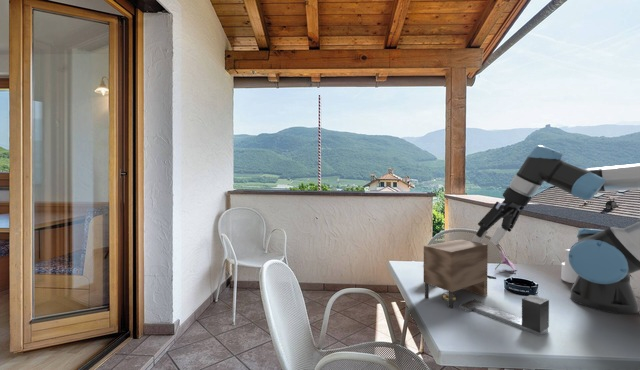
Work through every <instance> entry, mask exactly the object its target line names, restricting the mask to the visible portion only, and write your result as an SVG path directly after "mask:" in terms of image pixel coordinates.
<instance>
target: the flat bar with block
mask: <svg viewBox="0 0 640 370" xmlns="http://www.w3.org/2000/svg"><path fill="white" fill-rule="evenodd" d="M460 308H461V310H463V309H464V310H463V311H465V310H466V312H468V313H470V311H471V312H472V310H474V311H473V312H477V313H479V314H481V315H484V316H487V317H489V318H492V319H495V320H497V321H499V322H503V323H505V324H508V325H511V326H513V327H515V328H518V329H521V330H523V331H526V332H529V333H532V334H534V335H537V336H539V337H542V336H544V335H545V334H546V333H548V332H549V327H550V325H549V324H550V319H549V317H550V316H549V315H550V299H547V298H543V297H541V296H537V295H533V294H529V295H527V296H525V297H523V298H521V317H518V316H515V315H514V314H513V315H512V314H510V313H507V312H504V311H501V310H500V309H496V308H493V307H490V306H487V305H485V302H483V301H482V300H481V301H480V300H477V299H475V298H474V299H471V300H469V301H466V302H464V303H461V304H459V309H460Z"/></svg>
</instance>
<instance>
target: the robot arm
mask: <svg viewBox="0 0 640 370" xmlns="http://www.w3.org/2000/svg"><path fill="white" fill-rule="evenodd" d="M563 155H564V154H563V153H562V152H560V151H558V150H556V149H553V148H550V147H548V146H546V145H542V144H539V145H536V146H535V147H534V148H533V149H532V151H531V152H530V153H529V155H527V156H526V158H525V160H524V162H523V164H522V165H521V166H520V168H519V170H518V171H517V172H516V174H515V175H513V177H512V180H511V181H510V183H509V186H506V188H505V189H504V191H503V193H502V196H503V198H504V200H503V201H502V202H500V201H496V202H495V203H494V205H493V206H492V207H491V209H490V210H489V211H488V212H487V213H486V214H485V215H484V217H482V218H481V219H480V221H478V223H477V225H478V226H479V228H478V230H477V232H475V235H474V236H473V237H472V238H471V240H470V241H471V242H477V243H482V241H483V240H484V239H485V237H486V236H487V234H488V233H489V230H490V229H491V228H492V226H494V225H495V224H496V223H497V222H499V221H500V220H501V219H502V222H501V225H500V226H498V227H497V229H496V230H495V232H494V233H493V235H492V236H491V237H490V239H489V241H490V242H491V243H493V245H495V246H498V244H499V243H500V242H501V240H502V239H503V237H504V236H505V234H506V233H507V232H508V233H509V232H512V230H513V228H514V227H515V225H516V223H517V221H518V219H519V217H520V215H521V213H522V212H523V210H524V209H525V207H527V205H528V204H529V203H530V201H531V200H532V196H535V195H536V194H537V192H538V191H539V189H540V188H541V186H542V185H543V183H547V184H550V185H551V186H554V187H556V188H558V189H559V190H562V191H564V192H566V193H568V194H570V195H572V196H573V197H575V198H579V199H582V200H583V201H590V200H592V198H593V197H594V196H596V194H597V193H598V192H599V193H601V192H612V191H613V192H614V191H616V192H617V191H631V190H633V191H637V190H640V163H631V164H629V163H628V164H621V165H612V166H602V167H590V168H580V167H578V166H575V165H573V164H570V163H568V162H566V161H564V160H562V157H563ZM576 235H577V236H576V237H577V242H575V243H574V244H573V245H572V246H571V247H570V248H569V249H570V251H569V263H570V265H571V267H572V269H573V270H574V271H575V272H576V273H577V274H578V275H577V278H576V280H575V282H574V284H573V283H572V287H571V289H570V299H571V300H572V301H574V302H575V303H577V304H580V305H582V306H584V307H587V308H590V309H594V310H598V311H602V312H607V313H612V314H621V315H635V314H638V313H639V311H640V308H639V306H640V305H639V301H638V299H637V297H636V294H635V293H634V290H633V287H632V284H631V274H633V273H636V272H639V271H640V221H638V222H635V223H633V224H631V225H628V226H626V227H624V228H623V227H622V228H620V227H615V226H611V227H608V228H605V229H596V228H579V229H578V232H577V234H576Z"/></svg>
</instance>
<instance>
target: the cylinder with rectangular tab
mask: <svg viewBox="0 0 640 370" xmlns="http://www.w3.org/2000/svg"><path fill="white" fill-rule="evenodd" d="M570 249H571V248H568V249H564V262H561V280H562V281H564V282H566V283H569V284H573V283H574V282H575V280H576V278H577V275H578V274H577V273H576V272H575V271H574V270H573V269H572V267H571V265H570V263H569V251H570Z"/></svg>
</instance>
